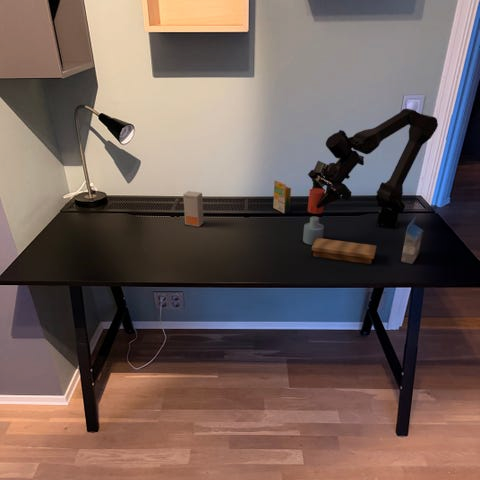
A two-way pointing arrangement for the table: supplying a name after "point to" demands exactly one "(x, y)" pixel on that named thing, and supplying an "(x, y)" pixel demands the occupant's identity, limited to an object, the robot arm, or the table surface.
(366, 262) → the brown long block
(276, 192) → the crayon box
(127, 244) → the table surface
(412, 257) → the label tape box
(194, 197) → the cosmetic box
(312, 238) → the light gray cylinder
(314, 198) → the red cylinder
